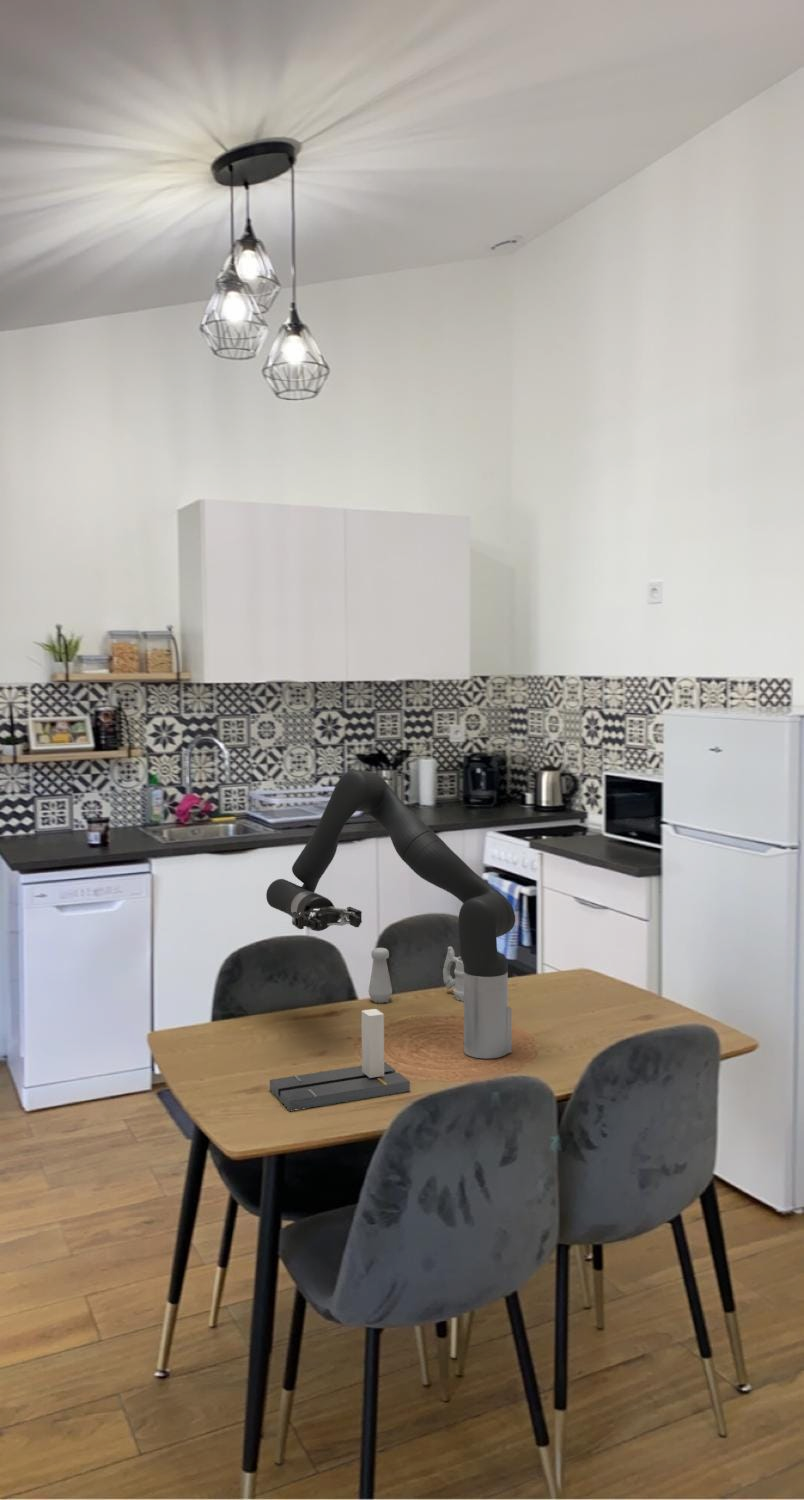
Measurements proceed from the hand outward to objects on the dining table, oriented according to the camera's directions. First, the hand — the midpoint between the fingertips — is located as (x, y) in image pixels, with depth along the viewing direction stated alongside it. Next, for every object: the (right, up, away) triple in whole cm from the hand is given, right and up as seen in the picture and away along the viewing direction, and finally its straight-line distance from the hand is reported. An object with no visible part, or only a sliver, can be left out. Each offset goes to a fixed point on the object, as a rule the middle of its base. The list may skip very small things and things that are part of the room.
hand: (338, 924), depth 230 cm
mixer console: (+1, -29, -18) cm, 34 cm away
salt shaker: (+8, -26, +43) cm, 51 cm away
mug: (+28, -26, +47) cm, 60 cm away
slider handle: (+8, -28, -15) cm, 32 cm away
